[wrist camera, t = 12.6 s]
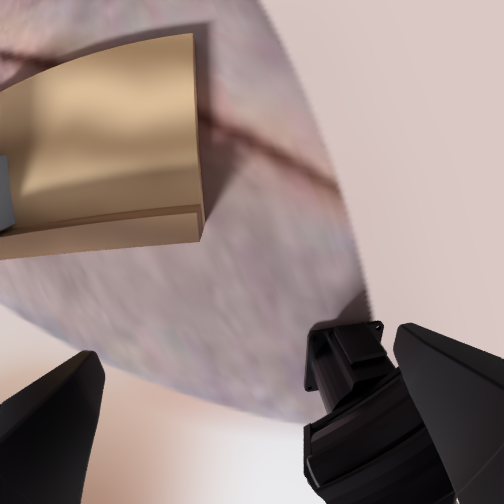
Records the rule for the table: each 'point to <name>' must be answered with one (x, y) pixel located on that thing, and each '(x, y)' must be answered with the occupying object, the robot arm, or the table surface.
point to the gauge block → (5, 196)
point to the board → (105, 152)
